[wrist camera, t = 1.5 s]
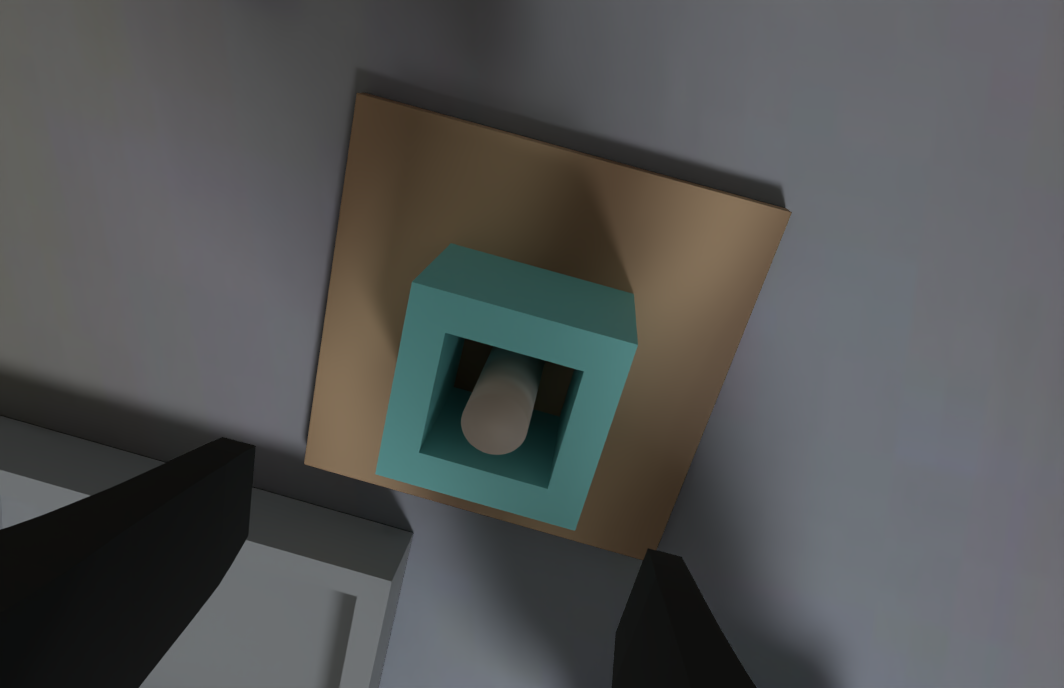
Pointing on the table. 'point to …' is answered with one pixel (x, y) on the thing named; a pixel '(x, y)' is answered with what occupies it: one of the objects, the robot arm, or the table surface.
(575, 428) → the teal hollow block
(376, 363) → the stake board
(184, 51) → the table surface
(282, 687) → the tray
